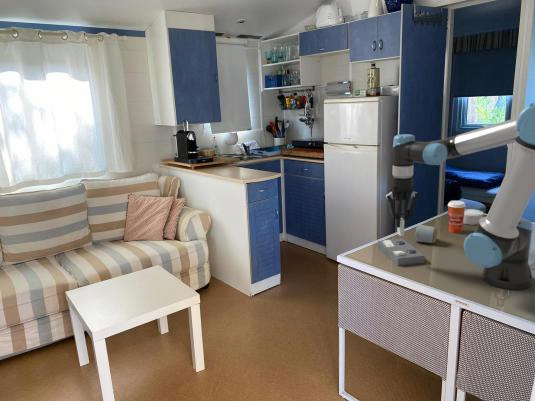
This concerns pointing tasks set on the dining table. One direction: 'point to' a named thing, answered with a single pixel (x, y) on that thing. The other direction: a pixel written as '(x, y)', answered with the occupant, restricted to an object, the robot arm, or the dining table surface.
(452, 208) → the paper cup
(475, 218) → the ramekin
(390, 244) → the rocker
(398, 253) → the rocker
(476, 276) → the dining table surface
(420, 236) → the ceramic mug
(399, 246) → the rocker switch box
